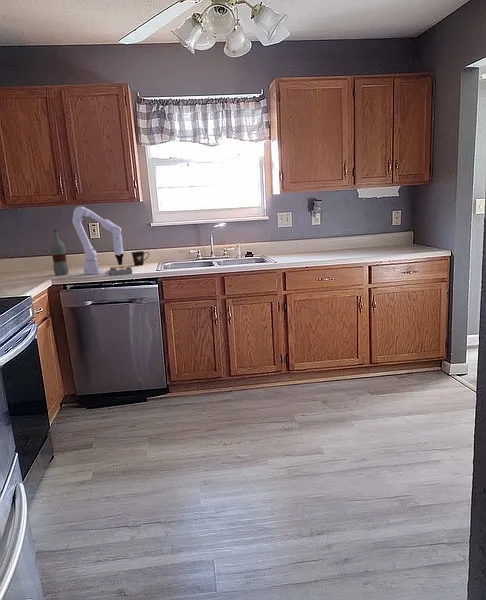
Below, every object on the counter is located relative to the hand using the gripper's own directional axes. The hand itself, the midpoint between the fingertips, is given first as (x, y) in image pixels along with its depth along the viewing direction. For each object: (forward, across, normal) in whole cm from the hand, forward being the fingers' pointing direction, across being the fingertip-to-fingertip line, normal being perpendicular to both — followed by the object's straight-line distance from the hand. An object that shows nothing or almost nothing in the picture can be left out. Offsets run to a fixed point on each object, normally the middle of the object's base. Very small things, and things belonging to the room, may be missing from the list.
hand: (120, 264), depth 311 cm
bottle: (+5, +10, +39) cm, 40 cm away
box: (+4, -9, 0) cm, 10 cm away
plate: (+4, +3, 0) cm, 5 cm away
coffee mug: (+5, +24, -14) cm, 28 cm away
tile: (+4, -8, 0) cm, 9 cm away
